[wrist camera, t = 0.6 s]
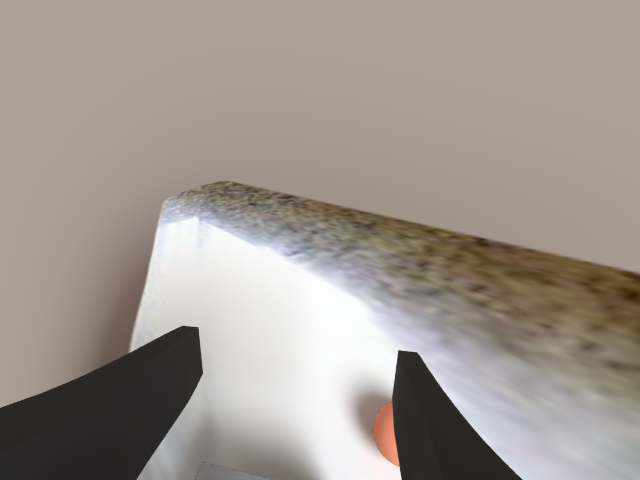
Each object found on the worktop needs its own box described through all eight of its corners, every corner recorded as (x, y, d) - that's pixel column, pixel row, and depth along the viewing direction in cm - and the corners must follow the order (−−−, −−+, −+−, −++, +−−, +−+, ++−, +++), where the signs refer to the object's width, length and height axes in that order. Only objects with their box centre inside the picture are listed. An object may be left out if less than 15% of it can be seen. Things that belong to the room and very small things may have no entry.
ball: (432, 481, 21) (437, 464, 18) (372, 467, 22) (369, 450, 19) (430, 417, 24) (434, 395, 21) (377, 408, 25) (375, 386, 22)
